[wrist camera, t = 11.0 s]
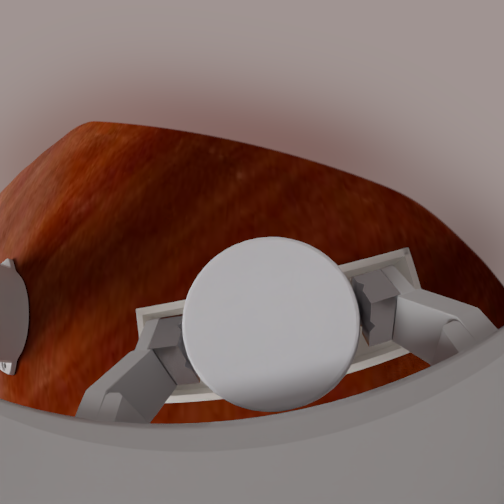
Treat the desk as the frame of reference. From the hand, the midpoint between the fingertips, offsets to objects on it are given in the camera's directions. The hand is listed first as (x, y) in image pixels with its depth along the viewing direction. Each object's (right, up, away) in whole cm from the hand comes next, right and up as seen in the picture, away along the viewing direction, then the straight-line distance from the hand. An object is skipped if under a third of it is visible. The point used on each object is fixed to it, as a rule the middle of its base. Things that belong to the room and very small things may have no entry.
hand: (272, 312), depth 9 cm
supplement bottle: (+1, -3, +6) cm, 7 cm away
